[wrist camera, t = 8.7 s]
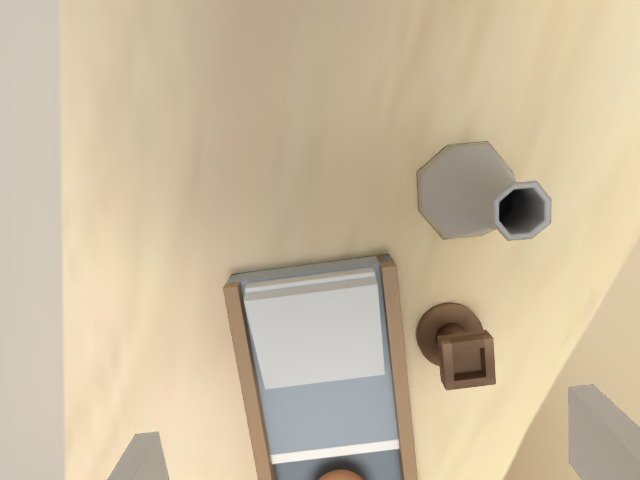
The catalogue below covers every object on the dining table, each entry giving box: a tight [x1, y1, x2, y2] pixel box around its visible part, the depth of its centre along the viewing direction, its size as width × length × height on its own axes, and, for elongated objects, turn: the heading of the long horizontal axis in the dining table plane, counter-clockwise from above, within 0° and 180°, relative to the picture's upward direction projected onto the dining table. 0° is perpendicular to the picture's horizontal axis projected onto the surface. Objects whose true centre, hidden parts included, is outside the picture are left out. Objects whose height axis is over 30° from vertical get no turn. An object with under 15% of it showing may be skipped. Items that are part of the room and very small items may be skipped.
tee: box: [416, 303, 496, 390], centre depth 34 cm, size 5×5×5 cm
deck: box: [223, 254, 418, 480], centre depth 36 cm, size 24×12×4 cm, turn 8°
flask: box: [417, 141, 551, 241], centre depth 30 cm, size 7×7×10 cm
